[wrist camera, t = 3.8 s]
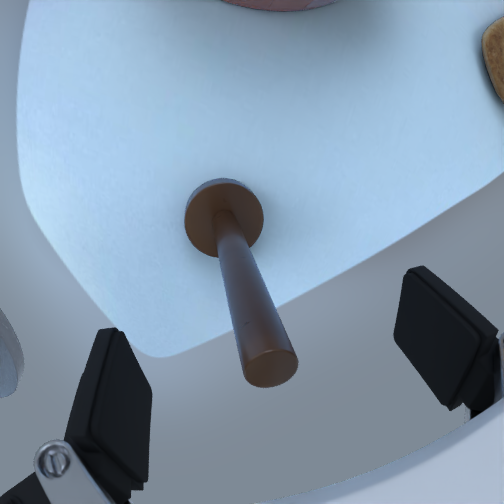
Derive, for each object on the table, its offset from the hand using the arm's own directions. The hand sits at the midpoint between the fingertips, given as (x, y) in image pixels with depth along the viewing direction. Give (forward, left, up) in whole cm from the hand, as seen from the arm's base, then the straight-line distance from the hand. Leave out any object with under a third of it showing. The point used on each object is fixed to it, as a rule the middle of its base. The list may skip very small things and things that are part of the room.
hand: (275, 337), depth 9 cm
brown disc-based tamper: (0, 0, -13) cm, 13 cm away
